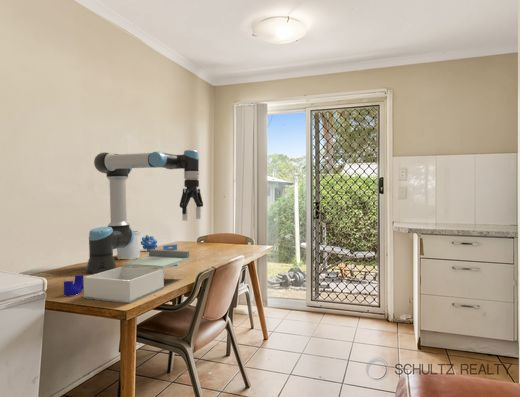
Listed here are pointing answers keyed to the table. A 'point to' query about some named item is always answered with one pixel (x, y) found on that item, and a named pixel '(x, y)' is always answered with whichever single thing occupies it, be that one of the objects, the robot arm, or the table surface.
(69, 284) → the cable clip
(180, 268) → the table surface
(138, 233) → the utensil holder
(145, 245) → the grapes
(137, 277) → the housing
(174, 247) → the label tape cartridge
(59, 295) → the table surface
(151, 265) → the lid
